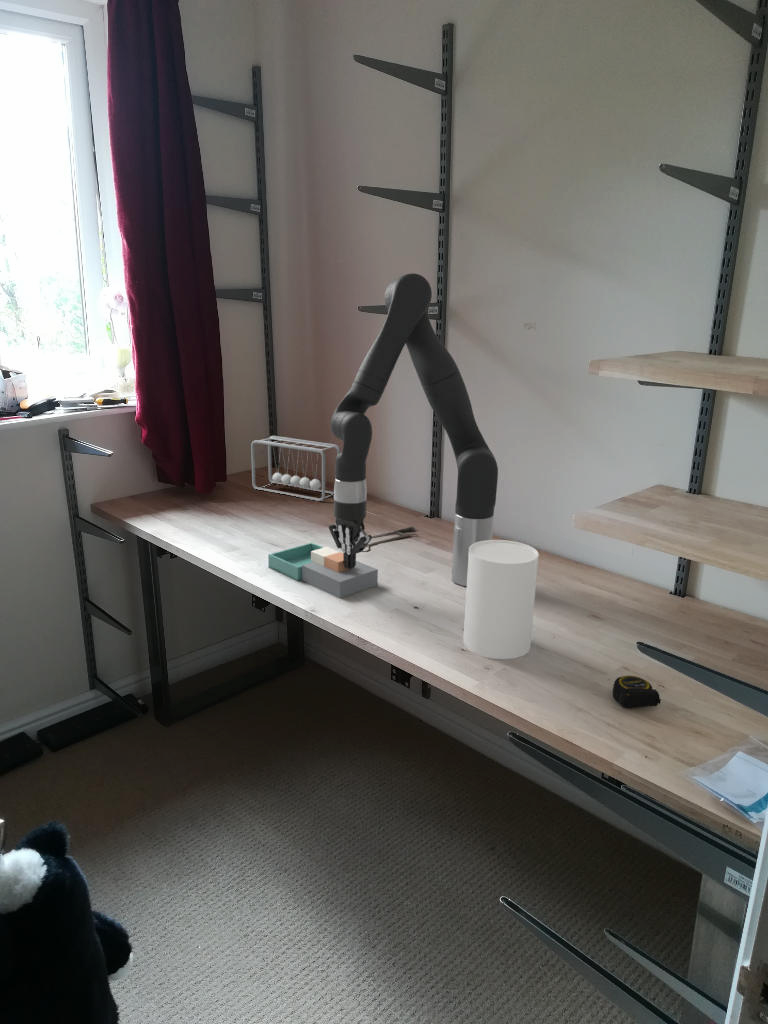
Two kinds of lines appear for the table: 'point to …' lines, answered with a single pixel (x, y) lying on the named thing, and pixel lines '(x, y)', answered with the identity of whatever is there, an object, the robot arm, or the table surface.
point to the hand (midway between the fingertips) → (349, 567)
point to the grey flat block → (340, 578)
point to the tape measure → (634, 692)
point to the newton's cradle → (295, 479)
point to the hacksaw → (400, 532)
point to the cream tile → (321, 555)
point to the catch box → (292, 560)
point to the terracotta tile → (334, 562)
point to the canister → (500, 598)
